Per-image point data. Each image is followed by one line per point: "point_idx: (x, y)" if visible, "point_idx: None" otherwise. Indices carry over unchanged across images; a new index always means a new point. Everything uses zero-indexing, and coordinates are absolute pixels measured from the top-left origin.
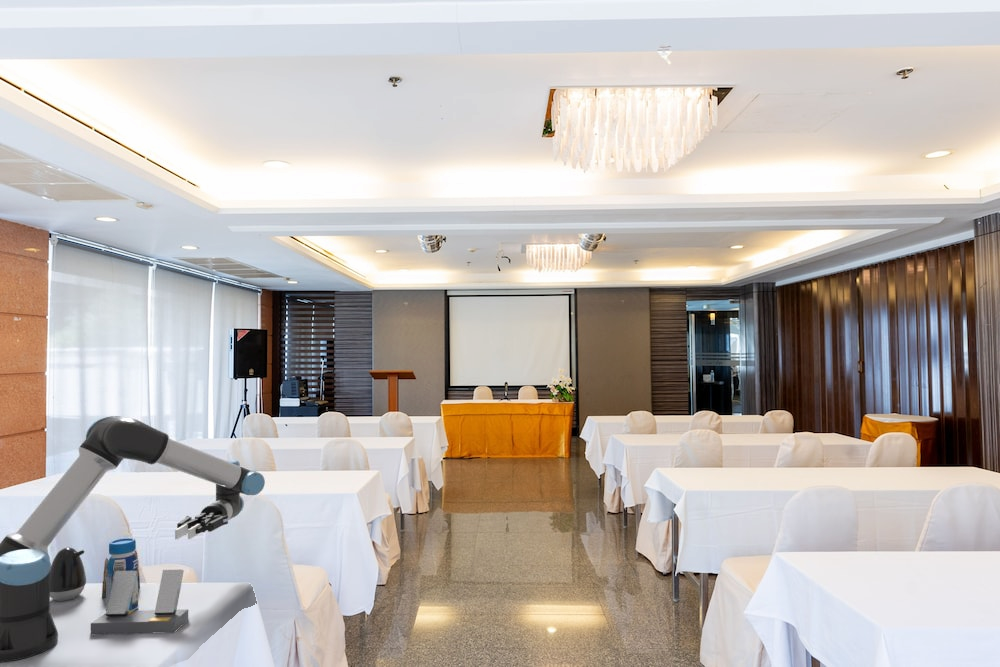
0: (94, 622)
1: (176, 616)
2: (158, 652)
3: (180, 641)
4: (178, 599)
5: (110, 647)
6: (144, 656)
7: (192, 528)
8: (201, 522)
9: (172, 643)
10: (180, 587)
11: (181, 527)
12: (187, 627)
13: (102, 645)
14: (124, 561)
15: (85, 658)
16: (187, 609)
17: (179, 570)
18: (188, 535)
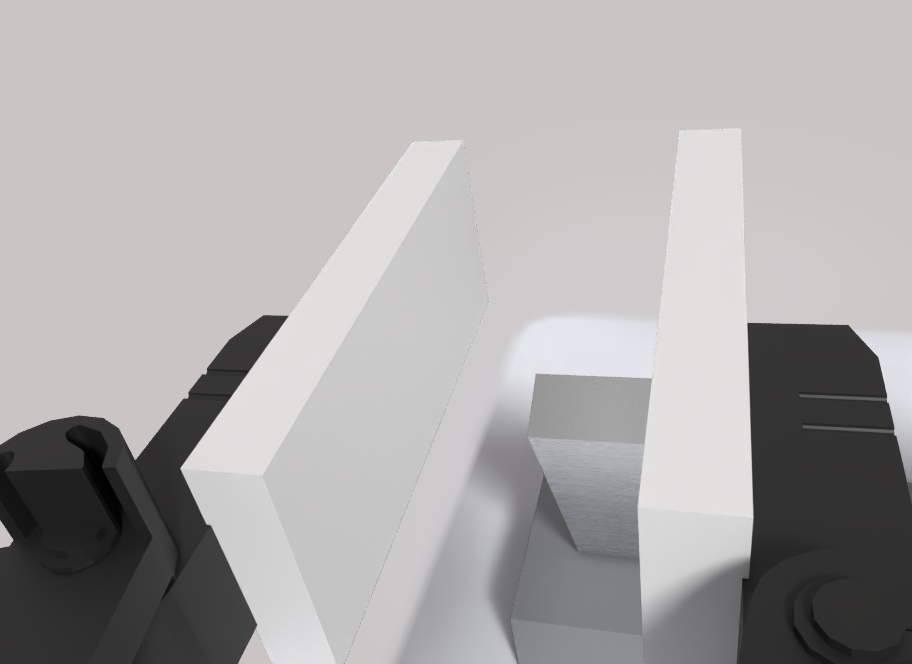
0: None
1: (560, 515)
2: (561, 348)
3: (492, 418)
4: (566, 523)
5: None
6: (609, 328)
7: (384, 185)
8: (124, 451)
9: (526, 406)
10: (553, 490)
11: (673, 222)
12: (497, 561)
13: (907, 425)
14: None
15: (884, 332)
16: (516, 619)
17: (552, 377)
18: (469, 248)
